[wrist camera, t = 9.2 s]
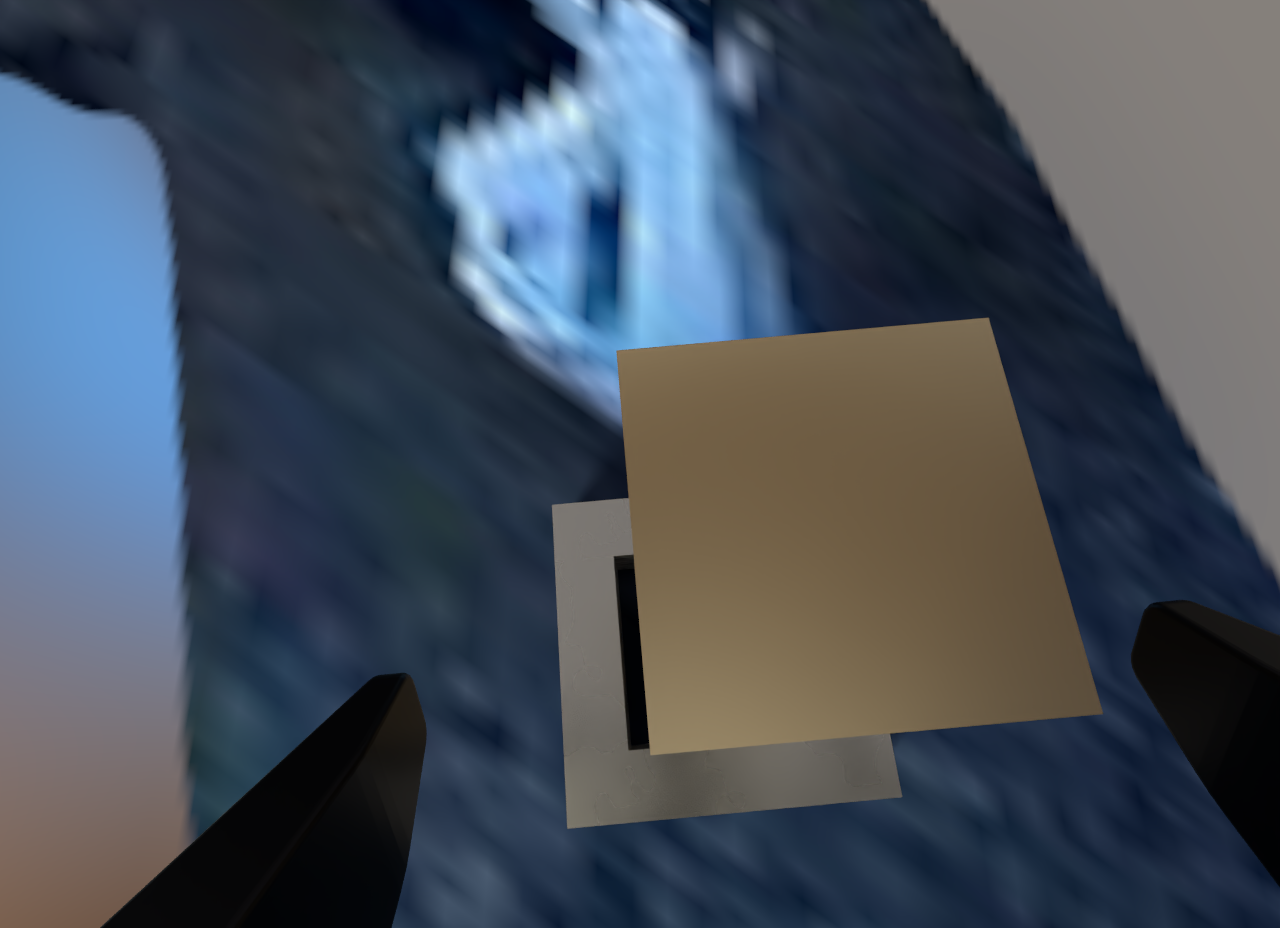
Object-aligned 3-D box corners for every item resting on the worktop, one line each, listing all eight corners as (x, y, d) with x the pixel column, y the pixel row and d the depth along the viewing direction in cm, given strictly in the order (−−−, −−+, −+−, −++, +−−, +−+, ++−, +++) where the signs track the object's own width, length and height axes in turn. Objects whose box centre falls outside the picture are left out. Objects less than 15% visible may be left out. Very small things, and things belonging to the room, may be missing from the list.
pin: (775, 701, 18) (1103, 714, 5) (655, 713, 18) (649, 756, 5) (758, 581, 19) (988, 318, 6) (645, 591, 19) (616, 350, 6)
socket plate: (875, 785, 17) (902, 797, 15) (577, 814, 17) (567, 828, 15) (822, 499, 20) (840, 478, 18) (562, 523, 20) (551, 505, 18)
